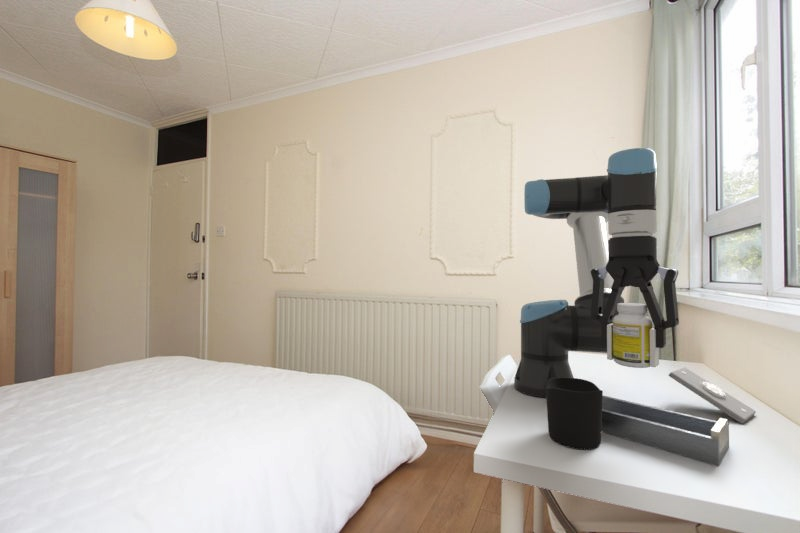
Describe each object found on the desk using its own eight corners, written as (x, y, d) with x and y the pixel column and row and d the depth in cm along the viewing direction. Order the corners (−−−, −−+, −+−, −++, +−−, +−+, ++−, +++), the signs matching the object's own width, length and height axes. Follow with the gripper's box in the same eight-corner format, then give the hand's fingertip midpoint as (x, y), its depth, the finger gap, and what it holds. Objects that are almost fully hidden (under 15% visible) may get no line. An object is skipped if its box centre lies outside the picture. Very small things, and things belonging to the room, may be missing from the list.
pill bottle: (638, 359, 71) (638, 302, 71) (661, 368, 65) (660, 305, 65) (606, 359, 71) (606, 302, 71) (625, 368, 65) (625, 306, 65)
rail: (581, 425, 74) (580, 400, 74) (600, 413, 80) (600, 390, 81) (718, 466, 58) (717, 433, 58) (729, 446, 65) (728, 417, 65)
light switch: (748, 416, 74) (672, 368, 85) (730, 438, 76) (658, 388, 87) (759, 408, 79) (686, 363, 90) (742, 428, 81) (673, 382, 92)
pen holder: (612, 441, 67) (611, 385, 67) (588, 457, 61) (587, 395, 61) (562, 425, 74) (561, 374, 75) (536, 437, 68) (535, 383, 69)
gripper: (569, 238, 72) (570, 356, 73) (693, 231, 58) (693, 377, 58) (585, 239, 78) (586, 349, 78) (702, 233, 63) (702, 368, 64)
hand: (632, 361), depth 68 cm, fingers closed on pill bottle, 6 cm apart
